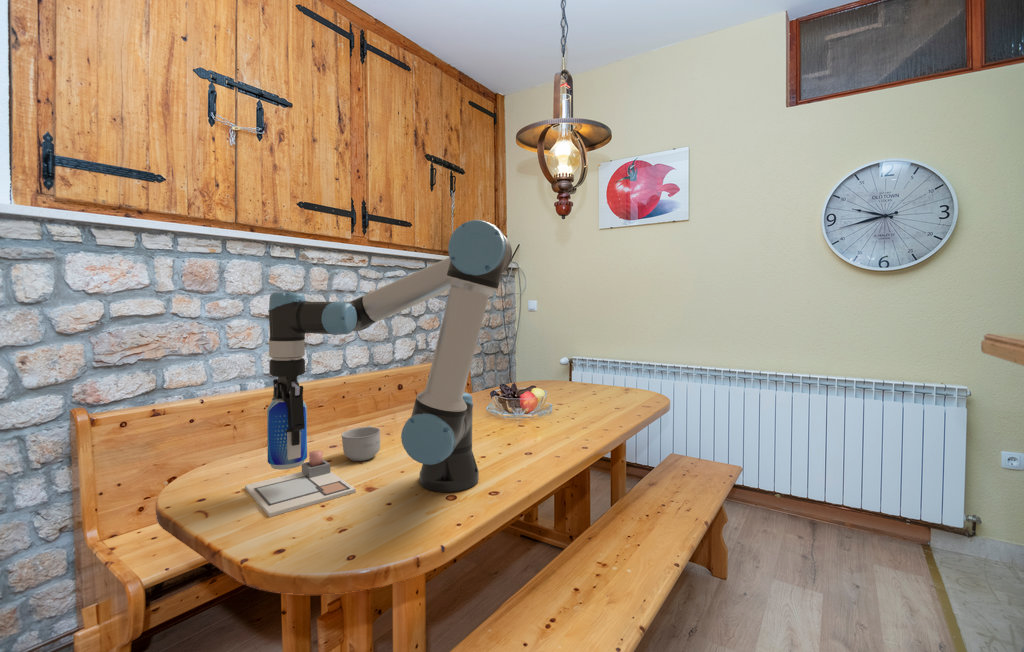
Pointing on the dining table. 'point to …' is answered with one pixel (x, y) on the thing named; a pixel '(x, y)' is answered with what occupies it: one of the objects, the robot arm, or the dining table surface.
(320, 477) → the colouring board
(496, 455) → the dining table surface
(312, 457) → the button
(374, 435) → the teacup
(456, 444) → the robot arm
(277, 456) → the beer can
